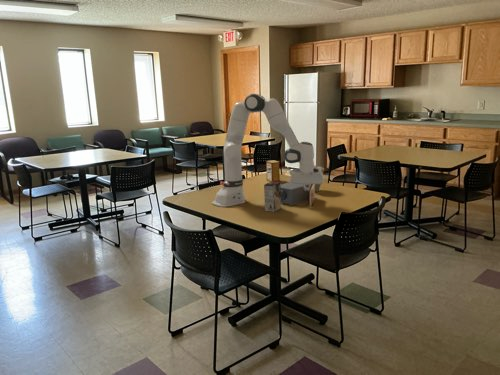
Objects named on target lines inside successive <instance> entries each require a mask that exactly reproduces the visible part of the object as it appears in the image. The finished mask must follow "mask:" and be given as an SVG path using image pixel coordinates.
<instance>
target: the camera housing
mask: <svg viewBox="0 0 500 375" xmlns="http://www.w3.org/2000/svg"><path fill="white" fill-rule="evenodd" d="M309 186H310V185H309V184H305V187H306V188H308V187H309ZM312 186H313V184H311V186H310V189H311V188H312ZM280 188H281V204H284V205H289V206H293V205H297V204H299V203H303V202H306V201H310V190H309V191H305V188H304V187H303V184H292V183H291V182H290V181H289V182H286V183H282V184H281V183H280Z"/></svg>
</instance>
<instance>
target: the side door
mask: <svg viewBox="0 0 500 375" xmlns="http://www.w3.org/2000/svg"><path fill="white" fill-rule="evenodd" d="M315 198H316V192H315V184H313V186H312V188H311V189H310V199H309V206H312V204H314V201H315Z"/></svg>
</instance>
